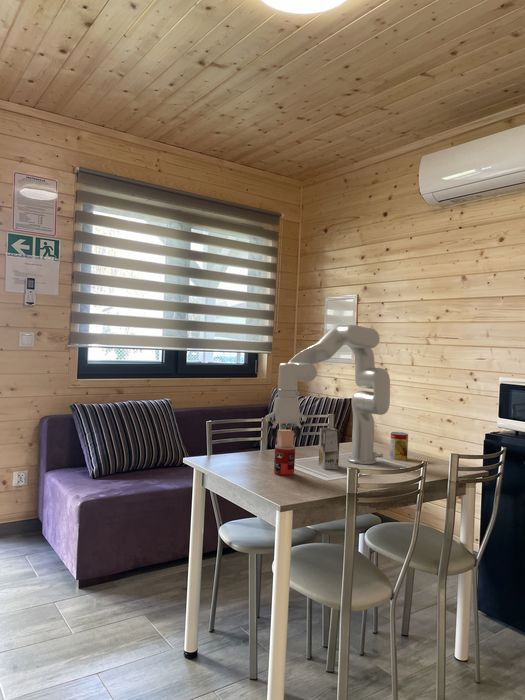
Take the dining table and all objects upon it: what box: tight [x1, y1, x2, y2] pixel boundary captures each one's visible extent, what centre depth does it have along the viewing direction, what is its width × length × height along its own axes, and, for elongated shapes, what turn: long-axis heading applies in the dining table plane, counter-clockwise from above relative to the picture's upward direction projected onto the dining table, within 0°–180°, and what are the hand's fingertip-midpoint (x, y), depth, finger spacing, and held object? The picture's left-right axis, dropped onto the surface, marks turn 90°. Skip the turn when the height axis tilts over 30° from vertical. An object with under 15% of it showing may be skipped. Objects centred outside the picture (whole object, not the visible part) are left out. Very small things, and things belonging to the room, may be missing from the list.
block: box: [276, 429, 295, 447], centre depth 206 cm, size 5×5×6 cm
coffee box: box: [318, 427, 341, 470], centre depth 221 cm, size 9×6×16 cm
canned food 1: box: [273, 444, 296, 477], centre depth 206 cm, size 8×8×11 cm
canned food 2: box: [389, 431, 409, 462], centre depth 245 cm, size 8×8×12 cm
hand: (285, 437), depth 206 cm, fingers open, 9 cm apart
